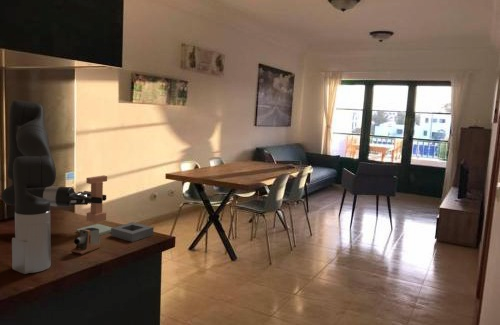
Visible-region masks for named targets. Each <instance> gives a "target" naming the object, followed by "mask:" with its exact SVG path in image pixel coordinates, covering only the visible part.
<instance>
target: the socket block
mask: <svg viewBox="0 0 500 325" xmlns="http://www.w3.org/2000/svg"><path fill="white" fill-rule="evenodd" d="M151 236H154V227H153V226H150V225H146V224H142V223H138V222H133V221H131V222H128V223H125V224H121V225H117V226H115V227H112V228H111V232H110V237H113V238H117V239H120V240H124V241H128V242H131V243H133V242H134V243H135V242H136V241H139V240H143V239H145V238H148V237H151Z"/></svg>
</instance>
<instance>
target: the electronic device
mask: <svg viewBox="0 0 500 325" xmlns="http://www.w3.org/2000/svg"><path fill="white" fill-rule="evenodd" d="M73 244H75V245H76V246H75V247H74V248H72V249H71V250H70V252H71V254H72V255H76V256H80V257H81V256H83V255H85V254H89V253H92V252H94V251H95V250H98V249H100V248H101V241H100V236H99V229H97V228H86V229H82V230H80V232H78V236H77V238H76V237H75V238H74V240H73Z"/></svg>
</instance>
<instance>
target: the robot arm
mask: <svg viewBox="0 0 500 325" xmlns="http://www.w3.org/2000/svg"><path fill="white" fill-rule="evenodd" d="M8 113H9V114H8V145H9V146H8V147H9V150H8V151H9V152H8V166H7V178H8V179H10V180H11V185H10V186H7V187H6V188H5V189H3V190H2V191H1V194H0V197H1V200H2V201H3V203H4V204H6V205H8V206H14V237H12V238H11V257H12V259H11V260H12V262H11V264H12V265H11V266H12V270H14V271H15V272H18V273H20V274H23V275H27V274H29V273H30V274H34V273H39V272H43V271H45V270H48V269H49V268H51V265H52V264H51V263H52V260H51V259H52V258H51V255H52V254H51V253H52V252H51V251H52V250H51V249H52V248H51V246H52V245H51V207H63V208H64V207H65V208H70V207H72V206H78V205H79V206H82V205H85V206H86V205H89V204H90V205H91V202H92V203H100V204H101V203H102V204H103V201H104V202H105V201H106V200H107V194H103V201H102V198H101V197H91V191H88V190H83V191H77V192H75V189H74V188H73V187H70V186H57V185H54V184H55V182H56V178H57V171H56V168H57V167H56V164H55V161H54V158H53V155H52V153H51V150H50V143H49V142H50V141H49V137H48V136H49V135H48V133H47V129H46V123H45V121H46V120H45V108H44V107H43V105H42V104H41V103H39V102H32V101H26V100H18V99H16V100H13V101H12V102H11V104H10V107H9V112H8ZM53 185H54V186H53Z"/></svg>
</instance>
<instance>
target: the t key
mask: <svg viewBox="0 0 500 325" xmlns="http://www.w3.org/2000/svg"><path fill="white" fill-rule="evenodd" d="M107 181H108V175H97V176H96V175H95V176H91V177H86V184H90V192H91V197H101V198H102V203H101V204H100V203H92V202H91V204H90V211H88V212H86V221H87V222H92V223H94V224H95V223H96V224H98V223H101V222H103V221H104V222H105V221H107V212H105V211H103V195H104V194H103V191H104V190H103V189H104V186H103V185H104V182H107Z"/></svg>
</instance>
